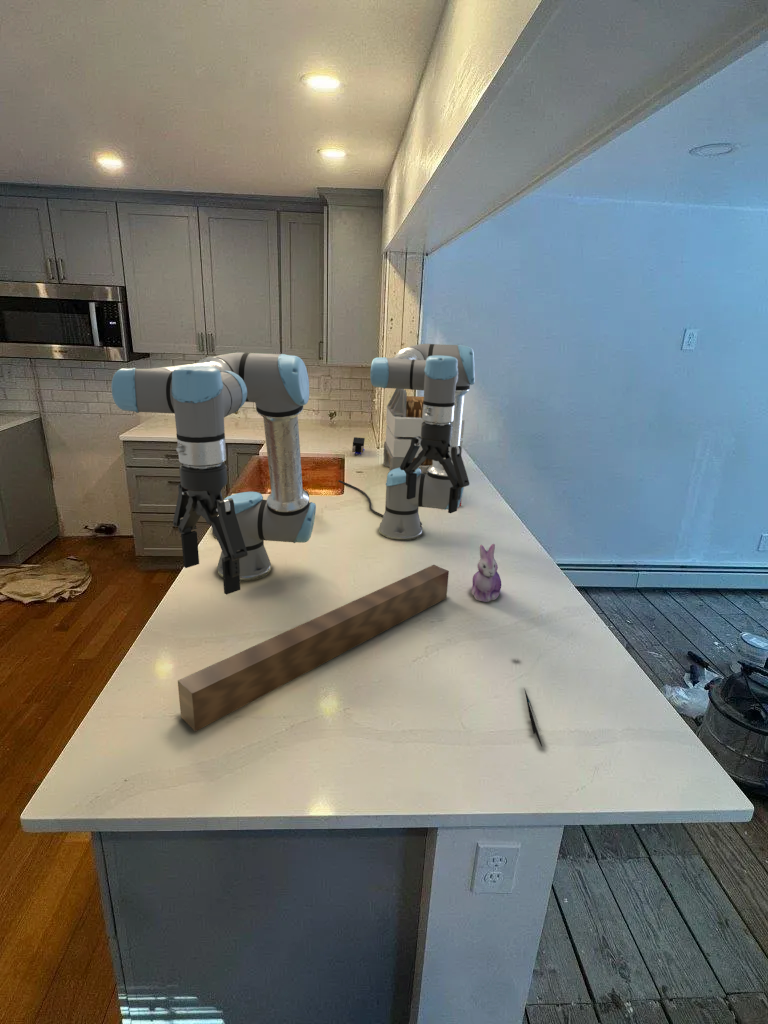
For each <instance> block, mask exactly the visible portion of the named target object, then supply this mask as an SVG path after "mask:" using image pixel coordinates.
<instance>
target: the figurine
mask: <svg viewBox="0 0 768 1024" xmlns="http://www.w3.org/2000/svg"><path fill="white" fill-rule="evenodd" d="M478 548H479V549H478V550H479V560H478V561H477V562H478V563H477V571H476V572H475V573H474V574H473V576H472V586H471V595H472V596H473V597H474V599H475V600H476V601H478V602H479V601H480V602H484V603H486V602H487V603H488V602H490V601H494V600H495V601H496V599H497V598H498V597H499V596H500V593H501V589H502V579H501V576H500V574H499V572H498V568H499V566H498V563H497V560H496V558H495V553H496V550H495V549H496V544H494V543H492V544H491V545H490V546H489V548H488V550H486V548H485V546H484V545H483V544H480V545H479V547H478Z"/></svg>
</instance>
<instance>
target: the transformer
mask: <svg viewBox="0 0 768 1024" xmlns="http://www.w3.org/2000/svg"><path fill="white" fill-rule="evenodd" d="M407 394H408V393H407V389H395V390H394V392H393V394H392V395H391V398H390V400H389V402H388V404H387V405H386V413H385V414H386V415H385V423H386V428H385V438H384V442H383V466H384V467H388V468H389V472H390V471H391V470H393V469H396V468H400V466H401V464H402V462H403V460H404V458H405V456H406V454H407V452H408V450H409V448H410V445H411V439H412V438H413V437H418V436H420V437H421V426H422V423H423V422H424V420H423V419H422V413H423V400H424V396H415V395H414V396H413V395H412V396H411V395H407ZM464 429H465V419H464V418H462V425H461V436H460V447H461V454H462V453H463V442H464V441H463V440H462V439H463V438H464V431H465V430H464ZM421 439H422V437H421ZM422 450H423V449H422V447H421V446H420V447H419V449H418V451H417V453H416V455H415V457H414V459H413V461H414V460H415V459H416V458H417V456H418V454H419V453H420V452H421V451H422ZM413 461H412V462H413ZM432 462H433V459H427V458H426V459H425V461H424V462H423V463H422V464H421V465H420V466H419V467H430V466H431V465H432Z"/></svg>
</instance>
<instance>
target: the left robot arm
mask: <svg viewBox="0 0 768 1024" xmlns="http://www.w3.org/2000/svg"><path fill="white" fill-rule="evenodd" d="M111 397H112V400H113V402H114V404H115V405H116V406H117V407H118V408H119V409H120V410H122V411H126V412H133V413H134V412H135V413H137V414H138V413H153V414H154V413H155V414H174V421H175V430H176V434H175V435H176V441H177V446H176V448H175V450H176V452H177V455H178V461H179V463H180V465H179V466H178V470H179V480H180V482H179V483H178V484H177V485H178V486H177V489H178V494H177V500H176V506H175V510H174V515H173V519H172V520H173V521H172V525H173V527H175V528H177V527H178V528H177V530H178V532H179V534H180V539H181V549H182V560H183V561H182V562H183V567H184V568H185V569H188V568H191V567H194V566H198V565H200V553H199V541H198V532H197V531H196V530H197V529H198V527H197V524H198V522H199V521H200V519H201V517H202V518H203V519H204V520H205V522H206V524H207V525H208V526H209V525H210V526H211V528H212V535H213V537H214V538H216V541H217V542H218V544H219V547H220V550H221V552H220V556H219V559H218V561H217V562H218V563H217V567H216V568H217V574H218V576H219V577H220V578H222V582H223V594H225V595H226V596H228V595H231V594H233V593H235V592H238V591H241V582H250V581H251V582H252V581H256V580H259V579H263V578H265V577H266V576H267V575H268V574H270V572H271V569H272V563H271V560H270V556H269V554H268V552H267V549H266V546H265V542H264V541H268V542H283V543H293V544H296V543H299V544H300V543H302V544H303V543H305V544H306V543H307V542H309V541H310V539H311V537H312V533H313V531H314V525H315V518H316V511H317V505H316V503H315V502H313V501H310V495H309V496H308V494H309V493H308V494H307V493H306V492H304V491H303V489H304V488H303V487H304V486H303V473H302V460H301V458H302V457H301V444H300V442H301V441H300V428H299V415H300V414H301V413H302V412H303V410H304V406H306V405H307V404H308V402H309V400H310V380H309V373H308V369H307V366H306V364H305V362H304V361H303V359H302V358H301V357H299V356H297V355H291V354H285V353H260V352H259V353H258V352H239V351H238V352H230V353H224V354H219V355H215V356H214V355H212V356H207V357H204V358H201V359H199V361H197V362H195V363H187V364H179V365H171V366H161V367H152V368H137V367H131V368H129V367H128V368H127V367H126V368H125V367H124V368H120V369H117V370H116V371H115V372H114V375H113V376H112V379H111ZM245 403H254V404H255V411H256V413H257V414H258V415H259V416H261V417H262V418H263V426H264V436H265V437H264V438H265V445H266V446H265V447H266V454H267V463H268V473H269V482H270V491H271V492H270V494H269V495H268V496H267V498H266V499H264V496H263V494H262V493H261V492H258V491H243V492H237V493H234V494H231V495H228V496H227V497H225V498H223V494H222V489H223V488H225V487H226V485H227V484H228V466H227V464H226V463H225V462H226V461H227V447H226V433H225V431H226V430H225V418H226V417H228V416H230V415H233V414H235V413H237V412H238V411H239V410H240V409H241V408H242V407H243V406H244V404H245Z"/></svg>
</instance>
